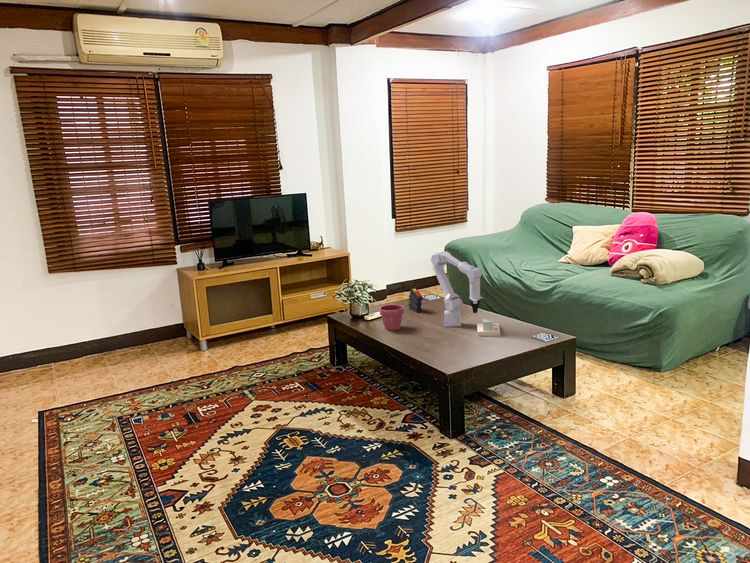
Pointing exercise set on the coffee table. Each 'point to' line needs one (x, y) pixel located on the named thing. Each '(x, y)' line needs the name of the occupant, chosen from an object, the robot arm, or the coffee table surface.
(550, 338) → the coffee table surface
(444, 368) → the coffee table surface
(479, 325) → the socket board
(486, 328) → the plug
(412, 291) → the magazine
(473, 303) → the robot arm
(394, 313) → the plant pot
